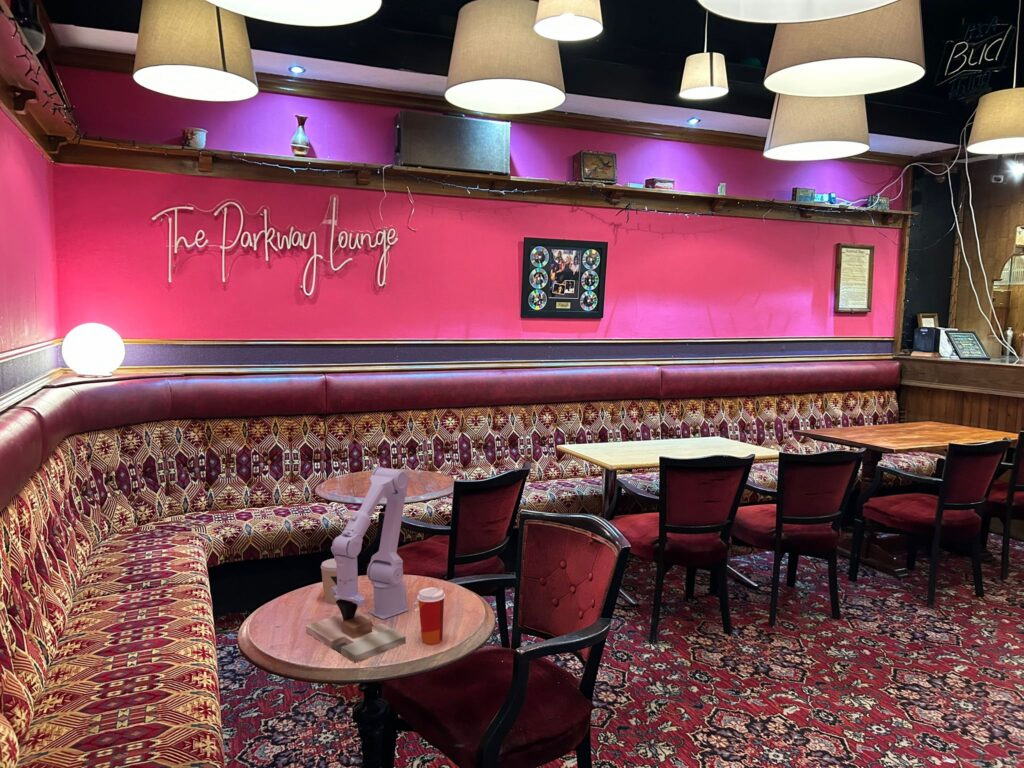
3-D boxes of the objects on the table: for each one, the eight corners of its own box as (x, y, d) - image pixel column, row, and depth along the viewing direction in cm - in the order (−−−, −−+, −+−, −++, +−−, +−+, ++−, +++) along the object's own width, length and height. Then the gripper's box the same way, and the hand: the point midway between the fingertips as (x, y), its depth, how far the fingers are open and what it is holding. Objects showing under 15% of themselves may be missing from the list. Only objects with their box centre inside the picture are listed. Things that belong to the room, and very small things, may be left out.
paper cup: (432, 632, 206) (431, 584, 205) (451, 639, 201) (450, 590, 200) (412, 641, 200) (410, 593, 199) (431, 649, 195) (430, 599, 194)
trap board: (354, 615, 218) (354, 609, 218) (405, 643, 200) (405, 636, 199) (306, 632, 207) (305, 625, 207) (355, 663, 188) (355, 655, 188)
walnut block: (360, 625, 206) (360, 615, 206) (372, 631, 202) (371, 621, 202) (341, 632, 202) (341, 621, 202) (353, 638, 198) (353, 628, 198)
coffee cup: (334, 607, 224) (333, 569, 223) (315, 600, 230) (314, 563, 229) (358, 597, 232) (357, 561, 231) (339, 591, 237) (337, 555, 236)
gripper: (321, 574, 206) (323, 620, 207) (348, 588, 196) (350, 636, 197) (343, 568, 211) (344, 613, 212) (370, 581, 201) (372, 628, 202)
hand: (348, 624), depth 205 cm, fingers closed
